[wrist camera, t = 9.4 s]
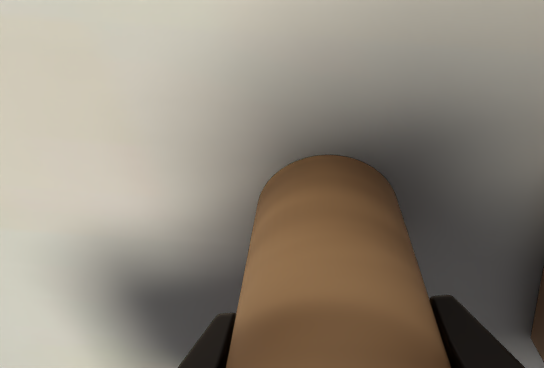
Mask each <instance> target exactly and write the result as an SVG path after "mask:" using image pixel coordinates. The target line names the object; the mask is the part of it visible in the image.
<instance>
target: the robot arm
mask: <svg viewBox="0 0 544 368" xmlns="http://www.w3.org/2000/svg"><path fill="white" fill-rule="evenodd" d="M430 303H431V306H432V309H433V313H434V316H435V319H436V322H437V325H438V328H439V331H440V334H441V337H442V340H443V344H444V347H445V350H446V353H447V356H448V359H449V362H450V365H451V368H525V367H524V366H523V365H522V364H521V363H520V362H519V361H518V360H517V359H516V358H515V357H514V356H513V355H512V354H511V353H510V352H509V351H508V350H507V349H506V348H505V347H504V346H503V345H502V344H501V343H500V342H499V341H498V340H497V339H496V338H495V337H494V336H493V335H492V334H491V333H490V332H489V331H488V330H486V329H485V328H484V327H483V326H482V325H481V324H480V323H479V322H478V321H477V320H476V319H475V318H474V317H473V316H472V315H471V314H470V313H469V312H468V311H467V310H466V309H465V308H464V307H463V306H462V305H461V304H460V303H459V302H458V301H457V300H456V299H455V298H454V297H453V296H451V295H441V296H432V297H431V298H430ZM235 318H236V313H223V314H219V315H217V316H216V317H215V319H214V320H213V321H212V323H211V324H210V325H209V327H208V328H207V329H206V331H205V332H204V333H203V335H202V336H201V337H200V339H199V340H198V341H197V343H196V344H195V345H194V347H193V348H192V349H191V351H190V352H189V353H188V355H187V356H186V357H185V359H184V360H183V361H182V363H181V364H180V365H179V367H178V368H226V365H227V360H228V355H229V350H230V344H231V339H232V334H233V329H234V324H235Z"/></svg>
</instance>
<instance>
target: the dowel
mask: <svg viewBox="0 0 544 368" xmlns="http://www.w3.org/2000/svg"><path fill="white" fill-rule="evenodd" d="M226 368H451V365H450V362H449V359H448V356H447V353H446V350H445V347H444V344H443V340H442V337H441V334H440V331H439V328H438V325H437V322H436V319H435V316H434V313H433V309H432V306H431V303H430V300H429V297H428V294H427V291H426V288H425V285H424V282H423V279H422V275H421V272H420V269H419V266H418V263H417V260H416V257H415V254H414V251H413V248H412V245H411V241H410V238H409V235H408V232H407V229H406V226H405V223H404V220H403V217H402V214H401V210H400V207H399V204H398V201H397V198H396V195H395V192H394V190H393V188H392V187H391V185H390V184H389V182H388V181H387V179H386V178H385V177H384V176H383V175H382V174H381V173H380V172H378V171H377V170H376V169H374V168H373V167H371V166H369V165H368V164H366V163H364V162H361V161H359V160H356V159H353V158H349V157H345V156H338V155H319V156H312V157H308V158H304V159H301V160H298V161H295V162H293V163H291V164H289V165H287V166H286V167H284V168H282V169H281V170H280V171H278V172H277V173H276V174H275V175H274V176H273V177H272V178H271V179H270V180H269V181H268V182H267V184H266V185H265V187H264V188H263V190H262V192H261V194H260V197H259V200H258V204H257V209H256V215H255V220H254V225H253V230H252V235H251V240H250V246H249V251H248V256H247V261H246V266H245V272H244V277H243V282H242V287H241V292H240V298H239V303H238V308H237V313H236V318H235V324H234V329H233V334H232V339H231V344H230V350H229V355H228V360H227V365H226Z"/></svg>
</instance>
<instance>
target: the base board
mask: <svg viewBox="0 0 544 368" xmlns="http://www.w3.org/2000/svg"><path fill="white" fill-rule="evenodd" d="M531 339H532V341H533V343H534V345H535V347H536V349H537V351H538V352H539V354H540V356H541V358H542V360H543V362H544V267H543V272H542V278H541V283H540V289H539V294H538V300H537V305H536V311H535V316H534V322H533V327H532V333H531Z"/></svg>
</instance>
